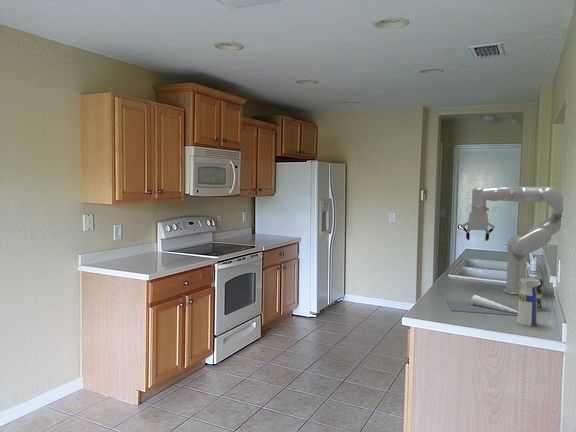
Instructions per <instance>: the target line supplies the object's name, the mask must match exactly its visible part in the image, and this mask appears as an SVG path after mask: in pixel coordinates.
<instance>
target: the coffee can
mask: <svg viewBox="0 0 576 432" xmlns="http://www.w3.org/2000/svg"><path fill="white" fill-rule="evenodd" d="M521 278H532V277H529V276H528V277H527V276H526V277H521ZM534 278H535V279H538V280H539V281H540V283H541V285H539V286H537V287H536V292H537V293H538V294H537V295H536V302H537V311H541V310H542V304H543V302H542V301H543V298H542V297H543V285H544V284H543V282H544V280H543V279H541V278H537V277H534ZM519 282H520V278H519ZM520 290H521V282H520V285H519V295H520ZM519 295H518V296H519ZM517 300H518V302H517V303H518V305H519V300H520V299H519V298H518V299H517ZM518 305H517V306H518Z"/></svg>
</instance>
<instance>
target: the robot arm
mask: <svg viewBox="0 0 576 432" xmlns="http://www.w3.org/2000/svg"><path fill="white" fill-rule="evenodd" d="M562 194H563V193H562V192H561V191H560V190H559V189H557V188H556V187H554V186H513V187H512V186H511V187H509V186H508V187H493V186H491V187H489V188H487V187H486V188H485V187H473V188H472V191H471V208H470V209H471V211H470V212H469V214H468V220H467V222H465V223H463V224H461V228H462V230H463V231H464V232H465V233H466V235H465V237H466V240H467V241H469V240H470V232H471V231H485V232H486V233H485V237H484V238H485V241H486V242H488V241H489V239H490V234H491V232H493V231H494V229H495V225H493V224H492V223H489V215H488V212H487V211H489V210H490V207H487V201H490V202H499V201H503V202H505V201H506V202H514V203H515V202H517V203H546V204H548V205H549V207H550V208H552V212H551V215H550V216H549V217H548V218H547V219H545V220H544V221H542V222H540V223H538V224H536V225H534V226H532V227H530V228H529V229H528V230H527V232H526V234H525V235H523V236H522V235H513V236H512V237H510V238H509V239H508V241H507V244H506V246H507V247H506V249H507V266H506V285H505V287H504V288H503V289H502V291H503V292H504V293H506V294H510V295H518V296H519V278H521V277H527V267H528V266H527V264H528V255H529V254H531V253H533V252H535V251H537V250H539V249H541V248H543V247H545V246H547V245H548V244H549V243H550V242H551V240H552V236H554V235H555V234H556V233H559V232H560V231H561V230H560V227H561V217H562V212H563V195H564V194H563V195H562ZM466 226H467V228H466ZM489 227H490V229H489ZM520 266H521V269H522V271H521V273H520V272H519V269H518V268H520ZM518 272H519V273H518Z"/></svg>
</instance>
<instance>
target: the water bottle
mask: <svg viewBox="0 0 576 432" xmlns="http://www.w3.org/2000/svg"><path fill="white" fill-rule="evenodd" d="M518 269H519V272H520V273H521V271H522V269H521V266H520V268H518ZM519 272H518V273H519ZM535 278H536V277H531V278H520V282H521V290H520V295H518V299H520V300H519V305H517V311H518V316H516V317H517V319H516V322H517V324H519V325H522V326H528V327H530V326H531V327H535V326H537V325H538V321H537V320H538V310H537V302H536V295H537V294H538V293H537V292H536V287H537V286H539V285H541V283H540V281H539V280H538V279H539V278H538V279H535ZM520 282H519V285H520Z"/></svg>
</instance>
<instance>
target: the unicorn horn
mask: <svg viewBox="0 0 576 432" xmlns="http://www.w3.org/2000/svg"><path fill="white" fill-rule="evenodd" d="M470 302H471V303H472V304H473V305H477V306H482V307H487V308H491V309H496V310H501V311H506V312H511V313H517V314H518V310H516V309H515V308H514V309H515V310H514V309H511V308H509V307H506V306H503V305H504V304H501V303H498V302H496V301H493V300H491V299H490V300H489V299H487V298H484V297H482V296H480V295H477V294H474V295H473V296H472V297H471V300H470Z"/></svg>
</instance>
